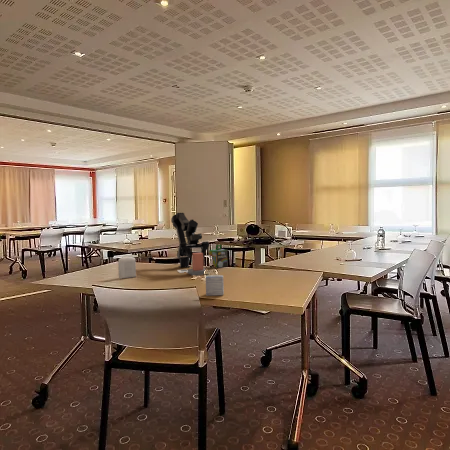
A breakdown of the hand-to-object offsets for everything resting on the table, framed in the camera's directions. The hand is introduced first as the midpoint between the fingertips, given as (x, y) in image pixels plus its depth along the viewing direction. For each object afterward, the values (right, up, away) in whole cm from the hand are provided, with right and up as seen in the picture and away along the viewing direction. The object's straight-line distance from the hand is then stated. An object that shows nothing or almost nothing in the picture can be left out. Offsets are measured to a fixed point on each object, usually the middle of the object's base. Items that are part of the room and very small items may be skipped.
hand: (197, 257), depth 234 cm
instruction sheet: (-6, -10, +10) cm, 15 cm away
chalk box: (+13, -9, +25) cm, 29 cm away
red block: (+1, -7, -1) cm, 8 cm away
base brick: (+1, -10, -1) cm, 10 cm away
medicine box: (+12, -13, -57) cm, 60 cm away
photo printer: (-40, -12, -7) cm, 43 cm away
